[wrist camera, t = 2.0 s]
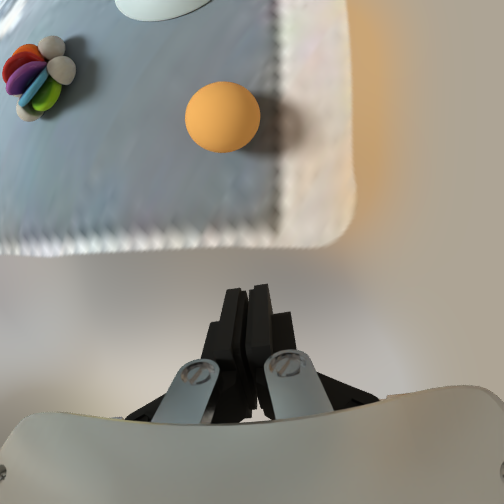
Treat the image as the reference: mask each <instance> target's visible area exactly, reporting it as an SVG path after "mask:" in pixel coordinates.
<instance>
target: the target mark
mask: <svg viewBox="0 0 504 504" xmlns="http://www.w3.org/2000/svg"><path fill="white" fill-rule="evenodd" d="M209 1H210V0H115V3H116V6H117V7H118V9H119V10H120V11H121V12H122V13H123V14H124V15H126V16H127V17H129V18H131V19H135V20H138V21H150V22H153V21H162V20H168V19H172V18H176V17H179V16H182V15H185V14H187V13H189V12H192V11H194V10H196V9H198V8H200V7H201V6H203V5H205V4H206V3H208V2H209Z"/></svg>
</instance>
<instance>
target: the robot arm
mask: <svg viewBox="0 0 504 504" xmlns="http://www.w3.org/2000/svg"><path fill="white" fill-rule="evenodd" d="M257 397H258V400H259V404H260V407H261V409H263V411H264V414H265V416H266V417H268V418H270V419H271V420H269V421H258V422H244V423H239V422H240V421H242V420H243V419H244V418H251V417H252V410H255V409H257ZM0 504H504V402H503V401H502V400H501V399H500V398H499V397H498V396H497V395H495V394H494V393H493V392H491V391H490V390H488V389H486V388H483V387H479V386H472V385H457V386H445V387H438V388H431V389H427V390H422V391H417V392H413V393H405V394H395V395H387V398H386V399H378V398H377V397H376V396H374V395H372V394H370V393H367V392H365V391H362V390H360V389H357V388H354V387H352V386H349V385H347V384H344V383H342V382H339V381H337V380H335V379H333V378H330V377H328V376H325V375H323V374H320V373H318V372H316V370H315V368H314V366H313V363H312V361H311V359H310V358H309V356H308V355H307V354H306V353H304V352H302V351H299V350H297V349H296V343H295V336H294V330H293V325H292V318H291V312H284V313H278V314H273V311H272V305H271V299H270V294H269V288H268V284H262V285H256V286H254V289H253V290H249V302H248V297H247V293H246V291H241V288H235V289H228V290H227V291H226V295H225V299H224V303H223V308H222V312H221V316H220V321H216V322H211V323H210V326H209V329H208V333H207V337H206V340H205V344H204V348H203V352H202V355H201V359H197V360H193V361H191V362H188V363H186V364H185V365H184V366H182V367H181V368H180V370H179V371H178V372H177V374H176V377H175V378H174V380H173V382H172V383H171V386H170V387H169V389H168V391H167V393H165V394H164V395H162V396H160V397H159V398H157V399H155V400H154V401H152V402H150V403H148V404H147V405H145V406H143V407H142V408H140V409H138V410H136V411H135V412H133V413H131V414H130V415H128V416H127V417H126V418H125V420H124V419H123V418H122V417H115V418H104V417H97V416H90V415H83V414H76V413H68V412H42V413H36V414H32V415H30V416H27V417H25V418H24V419H22V420H21V422H19V424H18V425H17V426H16V427H15V428H14V430H13V431H12V432H11V434H10V435H9V437H8V438H7V440H6V441H5V443H4V445H3V446H2V448H1V449H0Z"/></svg>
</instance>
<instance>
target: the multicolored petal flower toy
mask: <svg viewBox="0 0 504 504" xmlns="http://www.w3.org/2000/svg"><path fill="white" fill-rule="evenodd" d="M64 52H65V43H64V42H63V40H62V39H61V38H59V37H57V36H48V37H46V38H44V39H42V40H41V41H40V42H39V43H38V46H36V45H33V44H26V45H23V46H21V47H19V48H18V49H17V50H16V51H15V52H14V53H13V55H12V57H10V58H9V59H8V60H7V61H6V63H5V65H4V67H3V72H2V76H3V80H4V82H5V83H6V91H7V93H8V94H9V95H13V96H15V97H20V98H19V99H18V102H17V107H16V109H17V114H18V116H19V117H20V118H21V119H22V120H24V121H27V122H31V121H35V120H37V119H38V118H40V117H41V116H42V115H43V113H44V111H46V110H48V109H50V108H51V107H52V106H53V105H54V104H55V102H56V101H57V99H58V97H59V95H60V92H61V86H62V84H63V85H69V84H70V83H71V82H72V81H73V79H74V77H75V73H76V66H75V63H74V62H73V61H72V60H71V59H70V58H69V57H66V56H63V55H64Z"/></svg>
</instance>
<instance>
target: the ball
mask: <svg viewBox="0 0 504 504" xmlns="http://www.w3.org/2000/svg"><path fill="white" fill-rule="evenodd" d="M185 122H186V127H187V130H188V132H189V134H190V136H191V138H192V139H193V140H194V141H195V142H196V143H197V144H198V145H199V146H201V147H202V148H204V149H206V150H209V151H212V152H218V153H226V152H232V151H235V150H238V149H240V148H242V147H243V146H245V145H246V144H247V143H248V142H249V141H251V139H252V138H253V137H254V135H255V134H256V132H257V130H258V127H259V124H260V109H259V105H258V103H257V101H256V99H255V98H254V96H253V95H252V94H251V93H250V92H249V91H248V90H247V89H246V88H244V87H242V86H241V85H238V84H236V83H232V82H215V83H212V84H209V85H206V86H205V87H203V88H201V89H200V90H199V91H197V92H196V93H195V94H194V96H193V97H192V98H191V100H190V101H189V104H188V106H187V109H186V114H185Z"/></svg>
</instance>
